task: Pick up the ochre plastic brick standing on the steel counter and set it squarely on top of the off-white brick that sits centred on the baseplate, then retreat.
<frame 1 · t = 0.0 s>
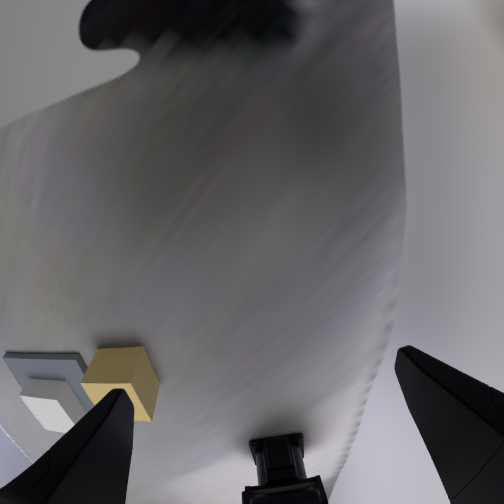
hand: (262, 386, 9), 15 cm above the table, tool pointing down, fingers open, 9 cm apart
white brick: (59, 398, 27), point 1 cm above the table, touching baseplate
ochre brick: (128, 366, 27), on the table
baseplate: (62, 392, 28), on the table
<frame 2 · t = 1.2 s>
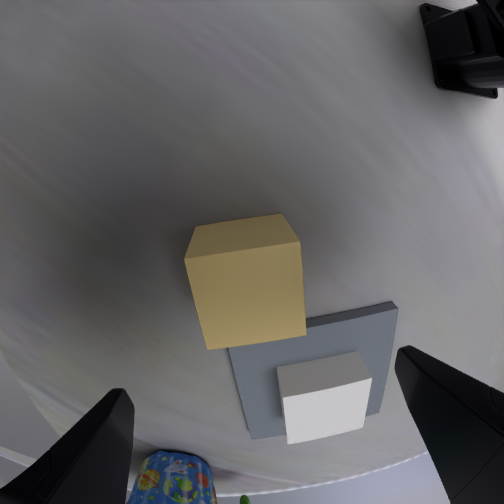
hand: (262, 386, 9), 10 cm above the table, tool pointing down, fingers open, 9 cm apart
snack cup: (177, 463, 27), on the table
white brick: (318, 386, 22), point 1 cm above the table, touching baseplate
ochre brick: (244, 258, 19), on the table
baseplate: (315, 378, 22), on the table
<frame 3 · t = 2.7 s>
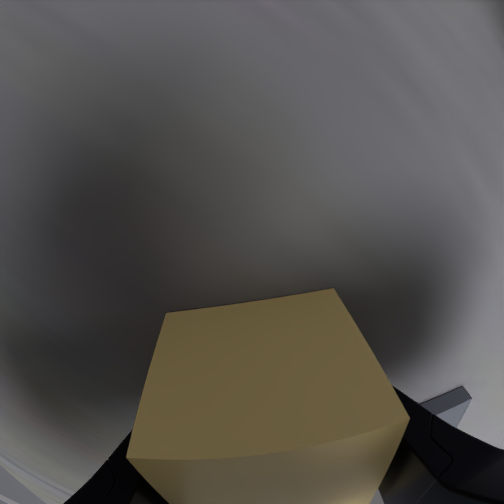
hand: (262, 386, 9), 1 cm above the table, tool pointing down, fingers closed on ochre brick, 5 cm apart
ochre brick: (259, 364, 10), on the table, touching gripper
baseplate: (347, 475, 14), on the table
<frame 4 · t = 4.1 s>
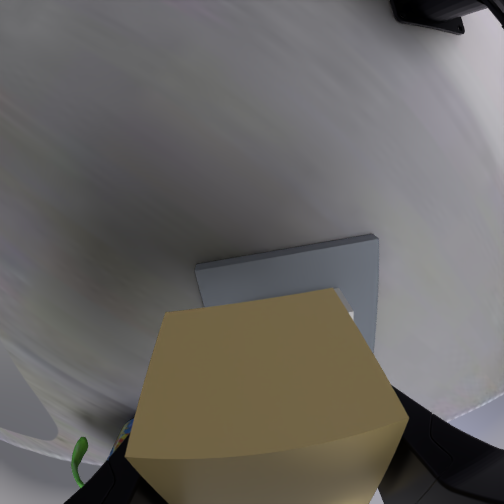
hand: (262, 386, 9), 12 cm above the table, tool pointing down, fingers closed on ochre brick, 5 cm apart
snack cup: (159, 431, 27), on the table
ochre brick: (259, 364, 10), point 11 cm above the table, touching gripper
baseplate: (296, 323, 22), on the table
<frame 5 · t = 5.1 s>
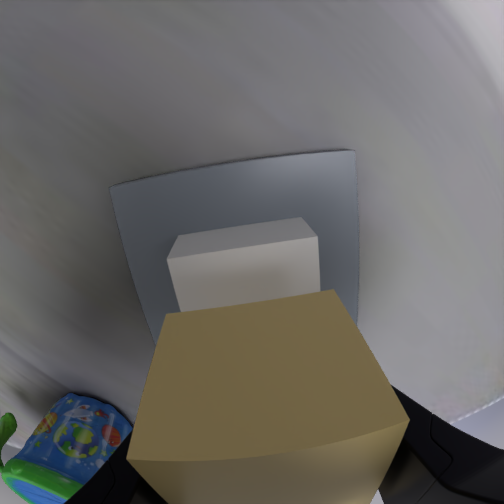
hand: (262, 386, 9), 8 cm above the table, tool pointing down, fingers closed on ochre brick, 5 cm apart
snack cup: (96, 417, 21), on the table
white brick: (248, 281, 16), point 1 cm above the table, touching baseplate
ochre brick: (260, 365, 10), point 7 cm above the table, touching gripper
baseplate: (247, 273, 17), on the table
when the fingers open (6 cm above the table, at t = 5.9 s): ochre brick stays where it is, resting on white brick.
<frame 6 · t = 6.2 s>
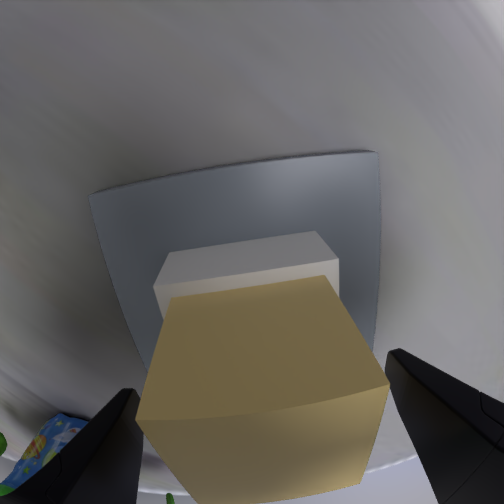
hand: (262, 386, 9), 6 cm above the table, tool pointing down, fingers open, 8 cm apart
snack cup: (89, 437, 19), on the table
white brick: (251, 305, 13), point 1 cm above the table, touching baseplate, ochre brick
ochre brick: (257, 347, 11), point 4 cm above the table, touching white brick
baseplate: (250, 294, 14), on the table
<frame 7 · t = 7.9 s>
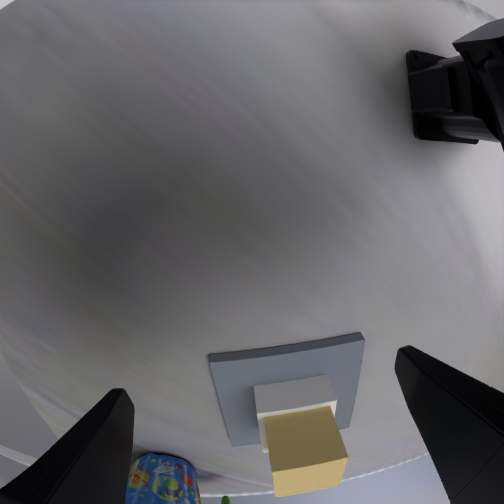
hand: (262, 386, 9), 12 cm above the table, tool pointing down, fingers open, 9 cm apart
snack cup: (165, 464, 29), on the table
white brick: (291, 403, 24), point 1 cm above the table, touching baseplate, ochre brick
ochre brick: (297, 429, 21), point 4 cm above the table, touching white brick
baseplate: (289, 395, 25), on the table
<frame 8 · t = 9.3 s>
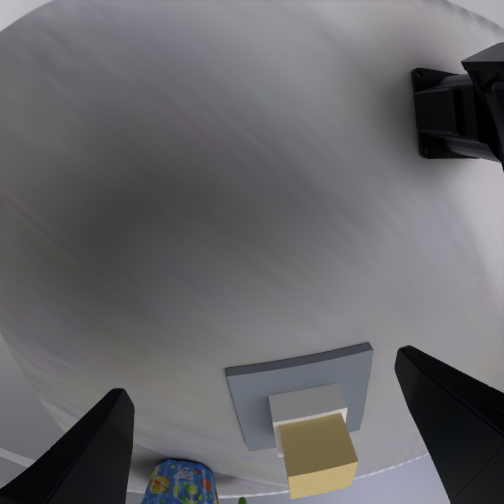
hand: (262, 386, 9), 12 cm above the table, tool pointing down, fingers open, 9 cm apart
snack cup: (183, 469, 30), on the table
white brick: (304, 410, 25), point 1 cm above the table, touching baseplate, ochre brick
ochre brick: (310, 435, 22), point 4 cm above the table, touching white brick
baseplate: (302, 402, 26), on the table
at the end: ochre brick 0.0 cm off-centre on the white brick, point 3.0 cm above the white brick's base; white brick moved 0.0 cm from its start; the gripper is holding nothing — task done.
